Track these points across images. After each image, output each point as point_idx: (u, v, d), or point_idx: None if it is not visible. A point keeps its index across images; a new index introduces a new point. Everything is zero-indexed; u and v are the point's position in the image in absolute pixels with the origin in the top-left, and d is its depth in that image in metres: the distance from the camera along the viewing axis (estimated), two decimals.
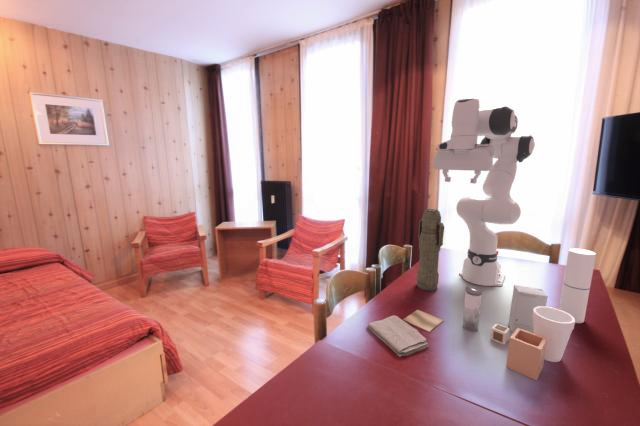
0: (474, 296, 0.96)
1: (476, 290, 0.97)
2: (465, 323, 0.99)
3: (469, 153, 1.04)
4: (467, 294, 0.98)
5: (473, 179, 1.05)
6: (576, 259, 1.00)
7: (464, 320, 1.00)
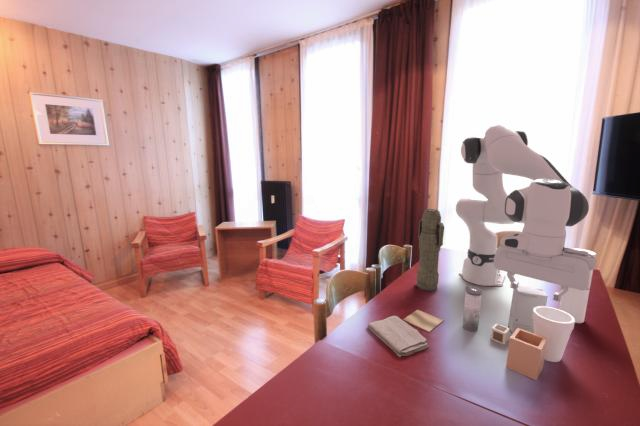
0: (474, 296, 0.96)
1: (476, 290, 0.97)
2: (465, 323, 0.99)
3: (554, 260, 0.72)
4: (467, 294, 0.98)
5: (558, 296, 0.73)
6: None
7: (464, 320, 1.00)
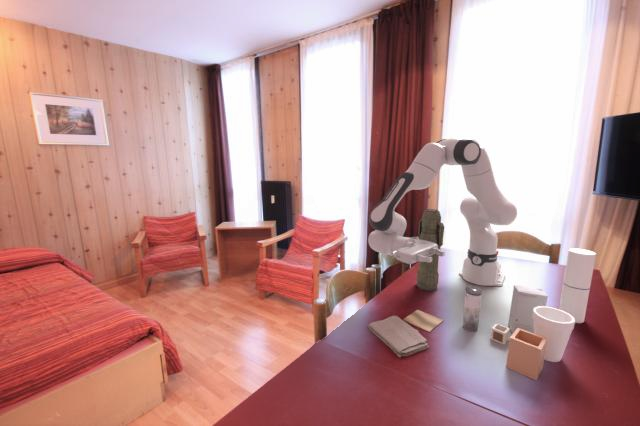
0: (474, 296, 0.96)
1: (476, 290, 0.97)
2: (465, 323, 0.99)
3: None
4: (467, 294, 0.98)
5: None
6: (576, 259, 1.00)
7: (464, 320, 1.00)
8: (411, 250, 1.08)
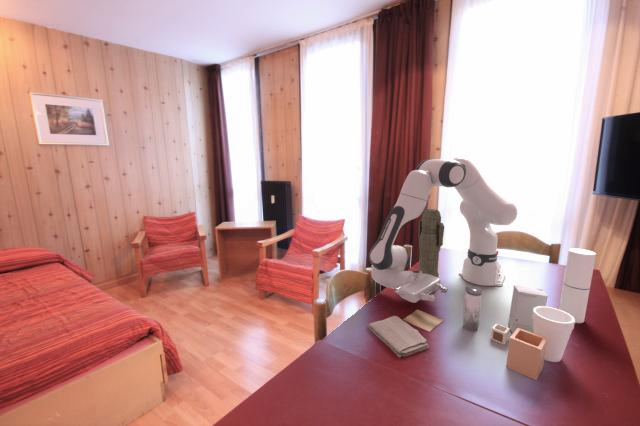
0: (474, 296, 0.96)
1: (476, 290, 0.97)
2: (465, 323, 0.99)
3: None
4: (467, 294, 0.98)
5: None
6: (576, 259, 1.00)
7: (464, 320, 1.00)
8: (414, 287, 1.09)
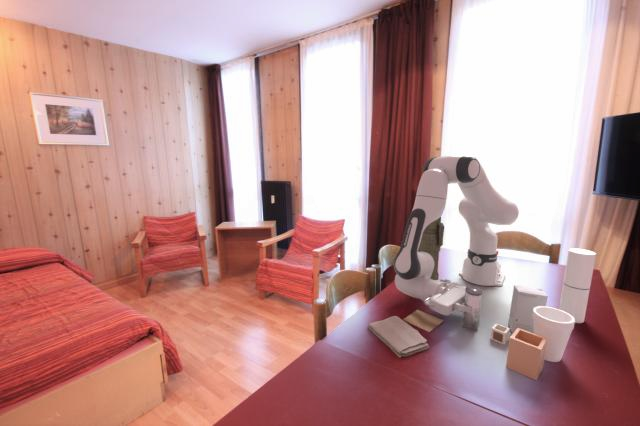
0: (474, 296, 0.96)
1: (476, 290, 0.97)
2: (465, 323, 0.99)
3: None
4: (467, 294, 0.98)
5: None
6: (576, 259, 1.00)
7: (464, 320, 1.00)
8: (446, 298, 1.00)
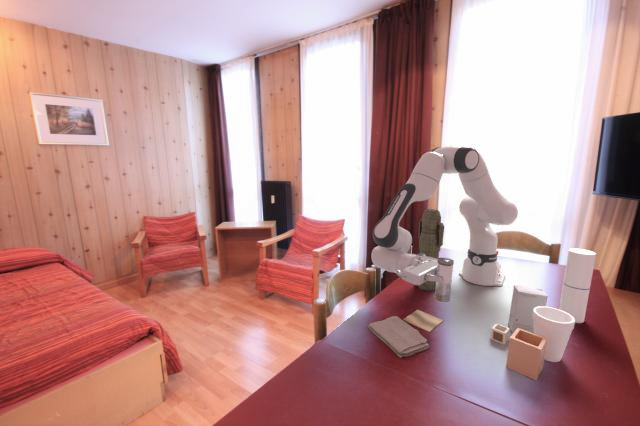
0: (445, 266, 0.96)
1: (448, 261, 0.98)
2: (437, 294, 1.00)
3: None
4: (439, 265, 0.98)
5: None
6: (576, 259, 1.00)
7: (436, 291, 1.00)
8: (418, 269, 1.01)
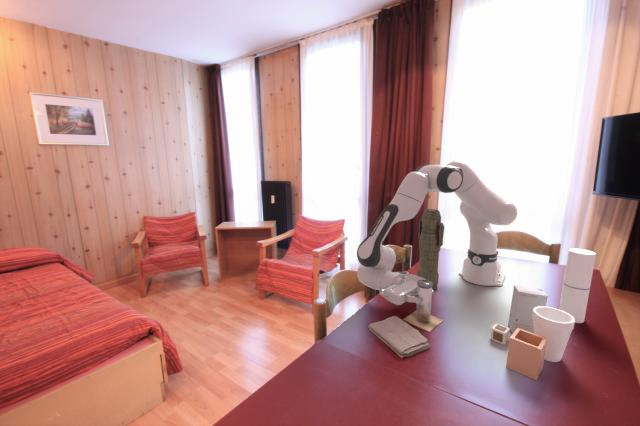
0: (424, 289, 1.00)
1: (426, 283, 1.01)
2: (418, 315, 1.03)
3: None
4: (418, 287, 1.02)
5: None
6: (576, 259, 1.00)
7: (417, 312, 1.04)
8: (400, 289, 1.04)
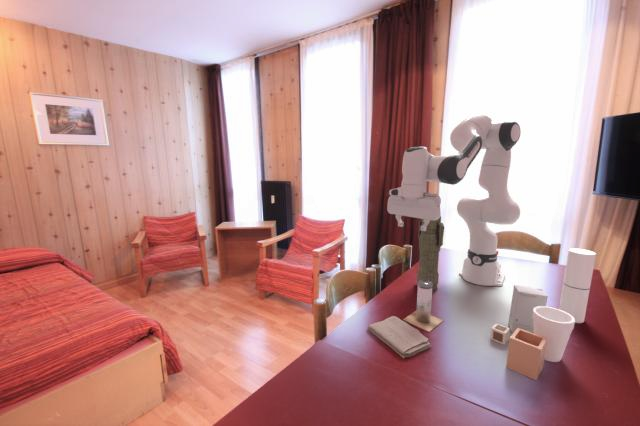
0: (424, 289, 1.00)
1: (427, 284, 1.01)
2: (418, 316, 1.03)
3: (418, 201, 1.05)
4: (418, 287, 1.02)
5: (422, 227, 1.06)
6: (576, 259, 1.00)
7: (417, 312, 1.04)
8: None
